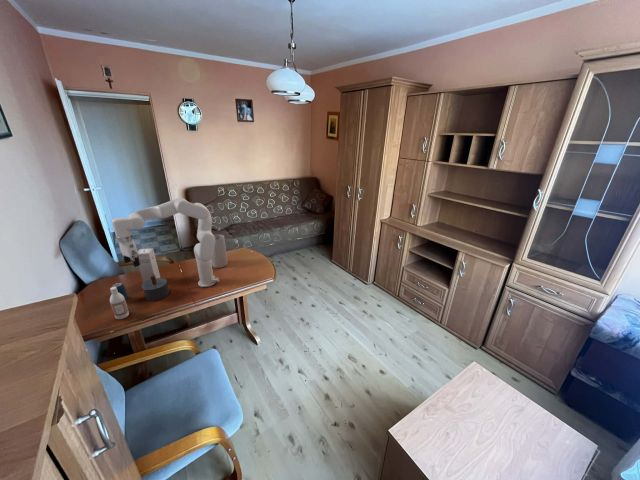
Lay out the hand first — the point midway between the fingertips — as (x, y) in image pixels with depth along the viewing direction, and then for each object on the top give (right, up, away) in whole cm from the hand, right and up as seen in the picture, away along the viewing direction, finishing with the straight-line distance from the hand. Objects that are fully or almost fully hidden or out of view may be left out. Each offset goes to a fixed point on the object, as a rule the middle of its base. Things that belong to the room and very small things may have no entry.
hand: (132, 264), depth 161 cm
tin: (+3, -23, +19) cm, 30 cm away
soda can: (-16, -25, +13) cm, 33 cm away
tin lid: (+4, -15, +16) cm, 22 cm away
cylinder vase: (+31, -6, +60) cm, 68 cm away
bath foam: (-5, -32, -1) cm, 32 cm away
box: (-10, -16, +35) cm, 39 cm away
